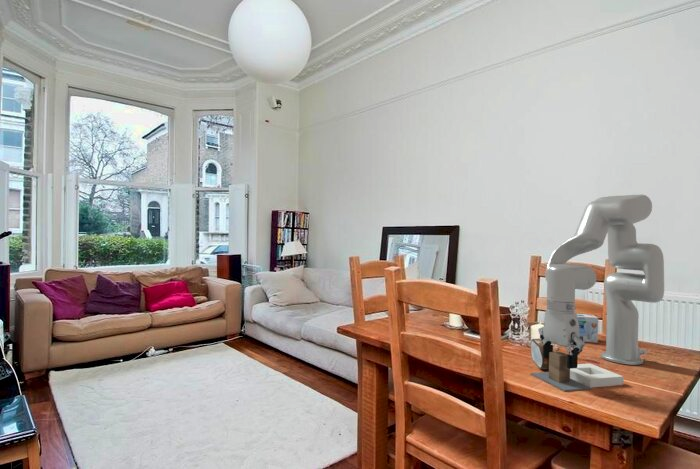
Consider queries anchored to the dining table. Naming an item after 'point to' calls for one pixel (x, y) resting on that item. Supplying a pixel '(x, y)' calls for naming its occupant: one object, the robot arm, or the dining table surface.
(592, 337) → the light bulb box
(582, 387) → the mat
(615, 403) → the dining table surface
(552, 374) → the block
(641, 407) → the dining table surface
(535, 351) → the tin
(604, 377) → the holder
